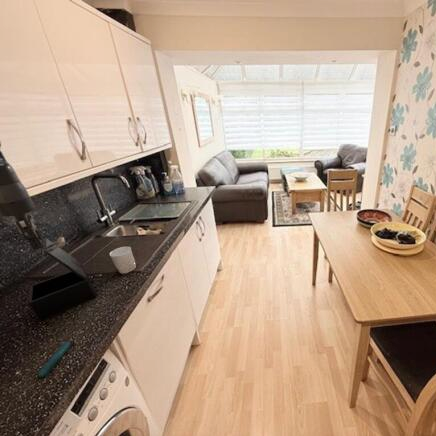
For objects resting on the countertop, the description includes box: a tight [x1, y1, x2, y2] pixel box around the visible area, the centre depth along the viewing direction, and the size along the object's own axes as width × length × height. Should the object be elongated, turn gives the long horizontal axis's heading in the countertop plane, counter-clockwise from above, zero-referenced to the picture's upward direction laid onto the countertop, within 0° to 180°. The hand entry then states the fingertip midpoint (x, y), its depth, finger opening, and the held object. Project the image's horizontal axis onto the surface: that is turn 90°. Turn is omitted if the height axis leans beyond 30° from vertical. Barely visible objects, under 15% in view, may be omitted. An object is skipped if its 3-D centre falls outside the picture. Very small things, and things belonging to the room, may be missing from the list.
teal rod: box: [37, 341, 72, 378], centre depth 69 cm, size 10×2×2 cm, turn 6°
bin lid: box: [43, 236, 87, 280], centre depth 89 cm, size 16×13×5 cm
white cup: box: [109, 246, 137, 274], centre depth 107 cm, size 8×8×10 cm
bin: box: [28, 270, 96, 322], centre depth 90 cm, size 16×13×9 cm
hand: (37, 243), depth 78 cm, fingers open, 8 cm apart
